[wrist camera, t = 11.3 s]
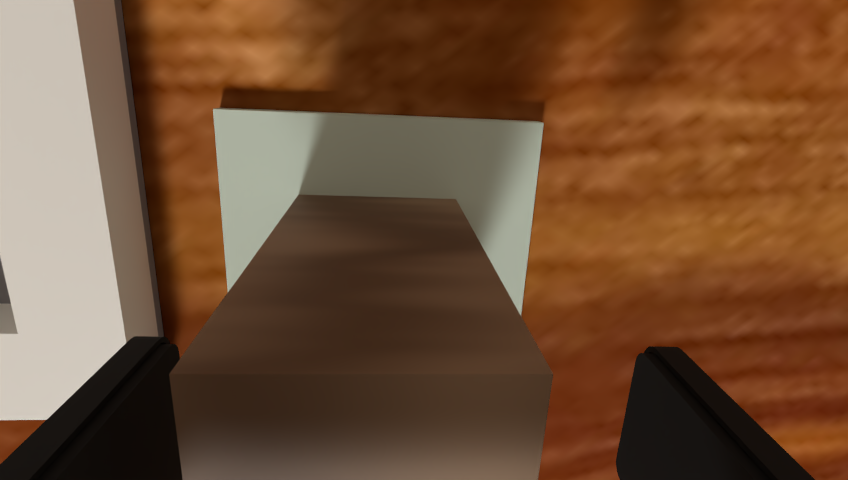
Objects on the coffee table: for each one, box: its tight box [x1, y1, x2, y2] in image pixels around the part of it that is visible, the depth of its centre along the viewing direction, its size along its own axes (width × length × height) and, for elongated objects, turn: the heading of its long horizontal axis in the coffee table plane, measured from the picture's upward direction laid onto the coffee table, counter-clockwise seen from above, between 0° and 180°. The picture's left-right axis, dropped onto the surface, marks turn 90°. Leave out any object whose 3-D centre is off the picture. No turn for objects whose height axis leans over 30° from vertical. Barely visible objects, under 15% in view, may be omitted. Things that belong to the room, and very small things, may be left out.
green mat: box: [213, 108, 544, 315], centre depth 17 cm, size 10×10×1 cm
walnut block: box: [169, 195, 553, 480], centre depth 12 cm, size 5×5×10 cm
